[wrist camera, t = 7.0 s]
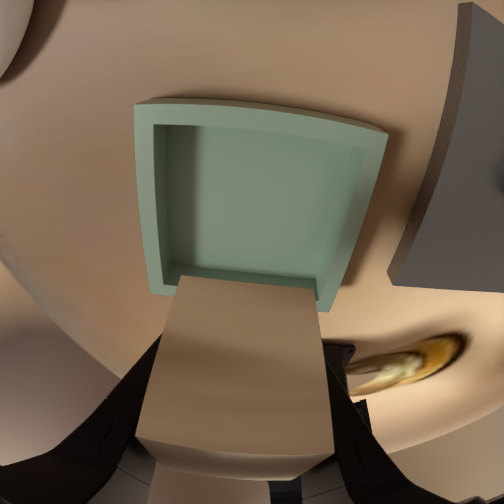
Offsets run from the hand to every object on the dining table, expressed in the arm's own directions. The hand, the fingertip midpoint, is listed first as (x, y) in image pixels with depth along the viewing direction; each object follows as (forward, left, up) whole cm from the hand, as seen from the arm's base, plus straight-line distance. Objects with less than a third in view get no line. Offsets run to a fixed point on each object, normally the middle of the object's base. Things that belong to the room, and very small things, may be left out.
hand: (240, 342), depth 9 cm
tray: (0, 0, -10) cm, 10 cm away
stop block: (0, 0, -1) cm, 1 cm away
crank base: (+6, -19, -10) cm, 22 cm away
